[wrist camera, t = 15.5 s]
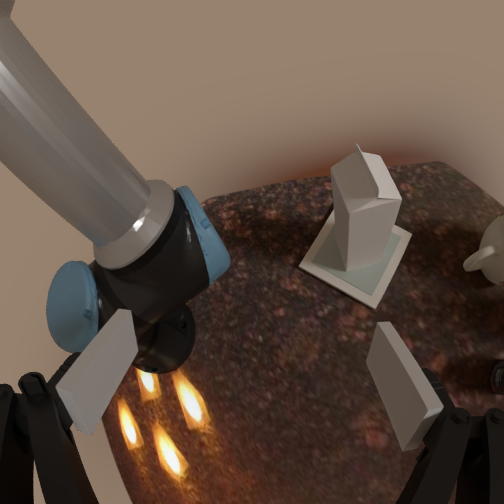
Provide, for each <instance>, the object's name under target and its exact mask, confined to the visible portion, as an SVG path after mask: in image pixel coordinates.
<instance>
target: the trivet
mask: <svg viewBox="0 0 504 504" xmlns="http://www.w3.org/2000/svg"><path fill="white" fill-rule="evenodd" d="M411 236H412V234H411V233H409V232H407V231H405V230H403V229H402V228H400V227H398V226H396V225H394V226H393V229H392V232H391V235H390V238H389V241H388V244H387V246H386V249H385V252H384V255H383V257H382V260H381V262H378V263H375V264H372V265H368V266H365V267H362V268H358V269H355V270H351V271H348V272H346V270H345V267H344V264H343V260H342V257H341V254H340V251H339V248H338V244H337V241H336V235H335V218H334V209H333V211H332V213H331V214H330V216H329V218H328V219H327V221H326V223H325V224H324V226H323V228H322V229H321V231H320V233H319V234H318V236H317V238H316V239H315V241H314V242H313V244H312V246H311V247H310V249H309V250H308V252H307V254H306V255H305V257H304V258H303V260H302V262H301V263H300V265H299V268H301V269H302V270H304V271H306V272H308V273H309V274H311V275H313V276H315V277H317V278H318V279H320V280H322V281H324V282H326V283H327V284H329V285H331V286H333V287H334V288H336V289H338V290H340V291H342V292H343V293H345V294H347V295H349V296H350V297H352V298H354V299H356V300H358V301H359V302H361V303H363V304H365V305H366V306H368V307H370V308H372V309H373V310H375V309H376V307H377V305H378V303H379V302H380V300H381V298H382V296H383V294H384V292H385V290H386V288H387V286H388V284H389V282H390V280H391V278H392V276H393V274H394V272H395V270H396V268H397V266H398V264H399V262H400V260H401V258H402V256H403V254H404V251H405V249H406V247H407V245H408V243H409V240H410V238H411Z"/></svg>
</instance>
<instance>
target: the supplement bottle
mask: <svg viewBox="0 0 504 504" xmlns="http://www.w3.org/2000/svg"><path fill="white" fill-rule="evenodd" d="M490 382H491V387H492V389H493V391H494V392H495V393H497V394H500V395H504V360H502V361H500V362H499V363H498V364H497V365H496V366H495V367H494V369H493V371H492V374H491V380H490Z"/></svg>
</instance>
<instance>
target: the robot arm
mask: <svg viewBox="0 0 504 504" xmlns="http://www.w3.org/2000/svg"><path fill="white" fill-rule="evenodd" d="M14 2H15V0H0V161H1V162H2V163H3V164H4V165H5V166H6V167H7V168H8V169H9V170H10V171H11V172H12V173H13V174H14V175H15V176H16V177H18V178H19V179H20V180H21V181H22V182H23V183H24V184H25V185H26V186H27V187H28V188H29V189H31V190H32V191H33V192H34V193H35V194H36V195H37V196H38V197H40V198H41V199H42V200H43V201H44V202H45V203H46V204H48V205H49V206H50V207H51V208H52V209H53V210H54V211H56V212H57V213H58V214H59V215H60V216H61V217H63V218H64V219H65V220H66V221H67V222H69V223H70V224H71V225H72V226H74V227H75V228H76V229H77V230H78V231H80V232H81V233H82V234H83V235H85V236H86V237H87V238H88V239H90V240H91V241H92V242H93V249H94V256H95V260H94V261H93V262H92V263H91V264H89V265H87V264H86V263H84V262H83V261H69V262H67V263H65V264H64V265H63V266H62V267H61V268H60V269H59V270H58V271H57V273H56V274H55V276H54V278H53V280H52V283H51V286H50V289H49V292H48V299H47V306H46V307H47V308H46V315H47V322H48V327H49V331H50V334H51V336H52V338H53V340H54V341H55V343H56V344H57V345H58V346H59V347H60V348H62V349H63V350H65V351H67V352H70V353H73V354H72V355H70V356H69V357H68V358H67V359H66V360H65V362H64V363H63V364H62V365H61V366H60V368H59V370H57V371H56V373H55V374H54V375H53V376H52V377H51V379H50V380H49V381H48V383H46V381H45V379H44V377H43V375H42V374H40V373H38V372H29V373H27V374H25V375H23V376H22V377H21V378H20V380H19V382H18V386H19V388H20V390H21V392H22V394H19V393H15V392H14V391H13V389H12V387H11V386H10V385H8V384H0V504H34V499H33V497H34V496H33V470H34V460H35V465H36V469H37V474H38V478H39V481H40V485H41V489H42V492H43V496H44V499H45V502H46V504H99V502H98V500H97V498H96V496H95V493H94V491H93V489H92V487H91V484H90V482H89V480H88V477H87V474H86V472H85V469H84V466H83V464H82V461H81V458H80V455H79V453H78V450H77V447H76V444H75V440H74V438H73V434H72V431H71V430H70V427H71V425H72V423H74V425H75V427H76V429H77V430H78V431H80V432H83V433H86V434H89V435H92V434H93V432H94V430H95V428H96V426H97V424H98V422H99V420H100V419H101V417H102V415H103V413H104V411H105V409H106V408H107V406H108V404H109V402H110V400H111V398H112V397H113V395H114V393H115V391H116V389H117V388H118V386H119V384H120V382H121V381H122V379H123V377H124V375H125V373H126V372H127V370H128V368H129V366H130V365H131V364H132V365H133V366H135V367H136V368H138V369H140V370H142V371H144V372H147V373H155V374H163V373H168V372H171V371H173V370H175V369H177V368H178V367H180V366H181V365H182V364H183V363H184V362H185V361H186V359H187V358H188V356H189V355H190V353H191V351H192V348H193V345H194V340H195V323H194V319H193V316H192V313H191V311H190V309H189V308H188V306H187V305H186V304H185V303H186V302H188V301H189V300H190V299H192V298H193V297H195V296H196V295H197V294H199V293H200V292H202V291H203V290H204V289H206V288H207V287H209V286H211V285H212V284H213V282H214V281H215V280H216V279H217V278H218V277H219V276H221V275H222V274H223V273H224V272H225V271H226V270H227V269H228V268H229V266H230V255H229V253H228V251H227V249H226V247H225V246H224V244H223V242H222V240H221V239H220V237H219V235H218V234H217V232H216V230H215V229H214V227H213V225H212V224H211V222H210V221H209V219H208V217H207V216H206V214H205V212H204V210H203V209H202V207H201V205H200V204H199V202H198V201H197V199H196V198H195V196H194V194H193V193H192V191H191V190H190V188H189V187H188V186H182V187H179V188H176V190H175V191H174V190H173V189H172V188H171V186H170V185H169V184H167V183H166V182H165V181H162V180H147V181H146V180H145V179H144V178H143V177H142V175H141V174H140V173H139V172H138V171H137V170H136V169H135V167H134V166H133V165H132V164H131V163H130V162H129V161H128V160H127V159H126V157H125V156H124V155H123V154H122V153H121V152H120V151H119V150H118V148H117V147H116V146H115V145H114V144H113V143H112V142H111V140H110V139H109V138H108V137H107V136H106V135H105V133H104V132H103V131H102V130H101V129H100V128H99V127H98V125H97V124H96V123H95V122H94V121H93V119H91V117H90V116H89V115H88V114H87V112H86V111H85V110H84V109H83V108H82V107H81V105H80V104H79V103H78V102H77V101H76V99H75V98H74V97H73V96H72V95H71V94H70V92H69V91H68V90H67V89H66V88H65V86H64V85H63V84H62V83H61V82H60V80H59V79H58V78H57V77H56V75H55V74H54V73H53V72H52V71H51V69H50V68H49V67H48V66H47V65H46V63H45V62H44V61H43V59H42V58H41V57H40V56H39V55H38V53H37V52H36V51H35V50H34V48H33V47H32V46H31V44H30V43H29V42H28V41H27V40H26V38H25V37H24V36H23V34H22V33H21V32H20V30H19V29H18V28H17V27H16V25H15V24H14V23H13V21H12V20H11V19H10V14H11V11H12V8H13V5H14ZM366 364H367V366H368V368H369V370H370V373H371V375H372V377H373V380H374V382H375V384H376V387H377V389H378V391H379V394H380V396H381V399H382V401H383V403H384V406H385V408H386V411H387V413H388V416H389V418H390V421H391V423H392V426H393V428H394V431H395V433H396V436H397V439H398V441H399V444H400V446H401V449H402V452H403V451H407V450H412V449H416V448H418V446H419V445H420V443H421V442H422V440H423V442H424V444H425V448H424V449H423V450H422V452H421V453H420V454H419V456H418V457H417V458H416V460H418V461H417V464H416V466H415V468H414V470H413V472H412V474H411V476H410V478H409V480H408V482H407V484H406V486H405V488H404V490H403V491H402V493H401V495H400V497H399V499H398V500H397V502H396V504H448V502H449V499H450V497H451V494H452V491H453V488H454V486H455V483H456V480H457V489H456V499H455V504H504V412H503V411H502V410H500V409H498V408H491V409H489V410H488V411H487V412H486V414H485V415H484V416H471V415H470V413H469V412H468V411H467V410H465V409H463V408H458V407H457V408H456V407H455V405H454V404H453V402H452V400H451V399H450V397H449V396H448V394H447V393H446V391H445V389H444V388H443V386H442V385H441V383H439V380H438V379H437V377H436V375H435V374H434V373H433V372H431V371H430V370H429V369H428V368H424V369H421V368H420V367H419V365H418V364H417V362H416V361H415V359H414V357H413V356H412V354H411V353H410V351H409V350H408V348H407V347H406V345H405V344H404V342H403V341H402V339H401V338H400V336H399V335H398V333H397V332H396V330H395V329H394V327H393V326H392V324H391V323H390V322H377V325H376V329H375V333H374V336H373V340H372V344H371V347H370V351H369V354H368V357H367V360H366Z"/></svg>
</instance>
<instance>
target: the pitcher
mask: <svg viewBox="0 0 504 504" xmlns="http://www.w3.org/2000/svg"><path fill="white" fill-rule="evenodd" d="M463 266H464V269H465V270H466V271H474V270H478V269H481V270H482V272H483V274H484V276H485V277H486V278H487V279H488V280H489V281H490V282H492V283H494V284H496V285H500V286H504V213H502V214H500V215H499V216H497V217H496V218H495V219H494V220H493V221H492V222H491V223H490V225H489V226H488V227H487V229H486V231H485V233H484V234H483V237H482V240H481V243H480V247H479V251H477V252H475V253H474V254H472V255H471V256H470V257H468V258H467V259H466V260H465V262H464V264H463Z"/></svg>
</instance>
